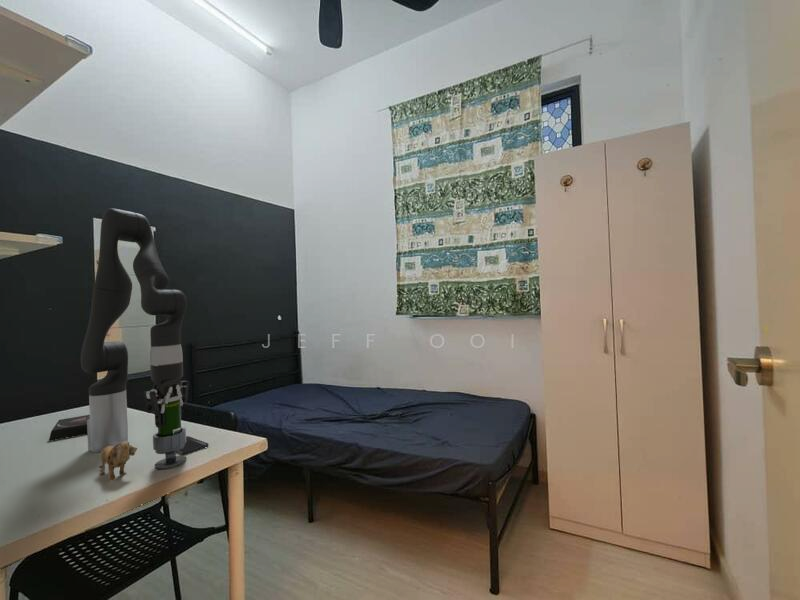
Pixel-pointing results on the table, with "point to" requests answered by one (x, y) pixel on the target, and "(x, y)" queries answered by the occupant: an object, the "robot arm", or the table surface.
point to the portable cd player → (70, 427)
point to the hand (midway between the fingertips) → (169, 423)
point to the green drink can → (171, 417)
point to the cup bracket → (169, 449)
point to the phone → (192, 446)
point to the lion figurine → (116, 458)
